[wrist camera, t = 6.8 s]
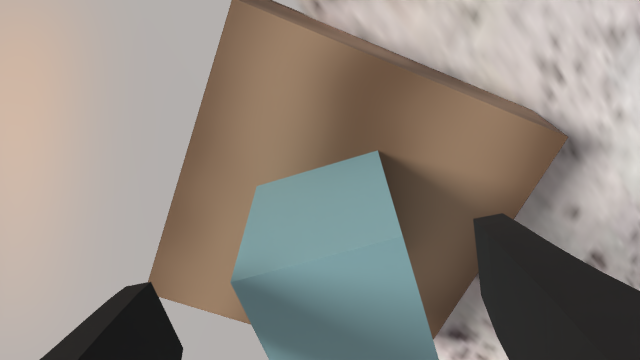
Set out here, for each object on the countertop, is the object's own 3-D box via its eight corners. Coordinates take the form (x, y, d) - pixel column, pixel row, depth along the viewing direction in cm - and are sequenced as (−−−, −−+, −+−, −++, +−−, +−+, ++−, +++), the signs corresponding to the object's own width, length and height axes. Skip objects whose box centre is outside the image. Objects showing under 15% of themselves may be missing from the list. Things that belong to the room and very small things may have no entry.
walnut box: (527, 107, 19) (568, 137, 16) (399, 317, 24) (411, 372, 21) (248, -10, 17) (232, -3, 14) (169, 244, 22) (144, 292, 19)
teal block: (377, 150, 16) (402, 236, 11) (407, 253, 18) (440, 365, 13) (256, 186, 17) (229, 282, 12) (297, 282, 19) (289, 399, 14)
